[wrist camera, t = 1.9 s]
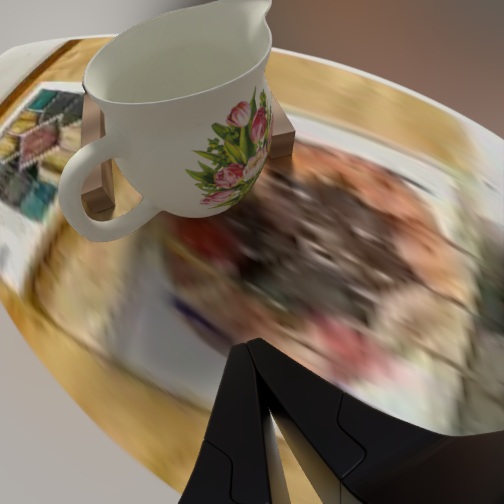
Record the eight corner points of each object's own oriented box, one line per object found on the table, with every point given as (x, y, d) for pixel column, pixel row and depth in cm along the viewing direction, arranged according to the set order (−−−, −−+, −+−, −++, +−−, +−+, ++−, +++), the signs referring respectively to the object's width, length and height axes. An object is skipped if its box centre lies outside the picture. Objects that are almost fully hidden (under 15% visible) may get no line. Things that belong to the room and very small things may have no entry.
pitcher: (81, 233, 24) (-14, 126, 11) (216, 106, 29) (203, -15, 17) (169, 317, 21) (66, 228, 9) (309, 154, 27) (337, 17, 14)
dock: (291, 154, 27) (296, 122, 23) (95, 213, 25) (74, 188, 21) (236, 59, 33) (235, 33, 29) (94, 100, 31) (83, 76, 27)
